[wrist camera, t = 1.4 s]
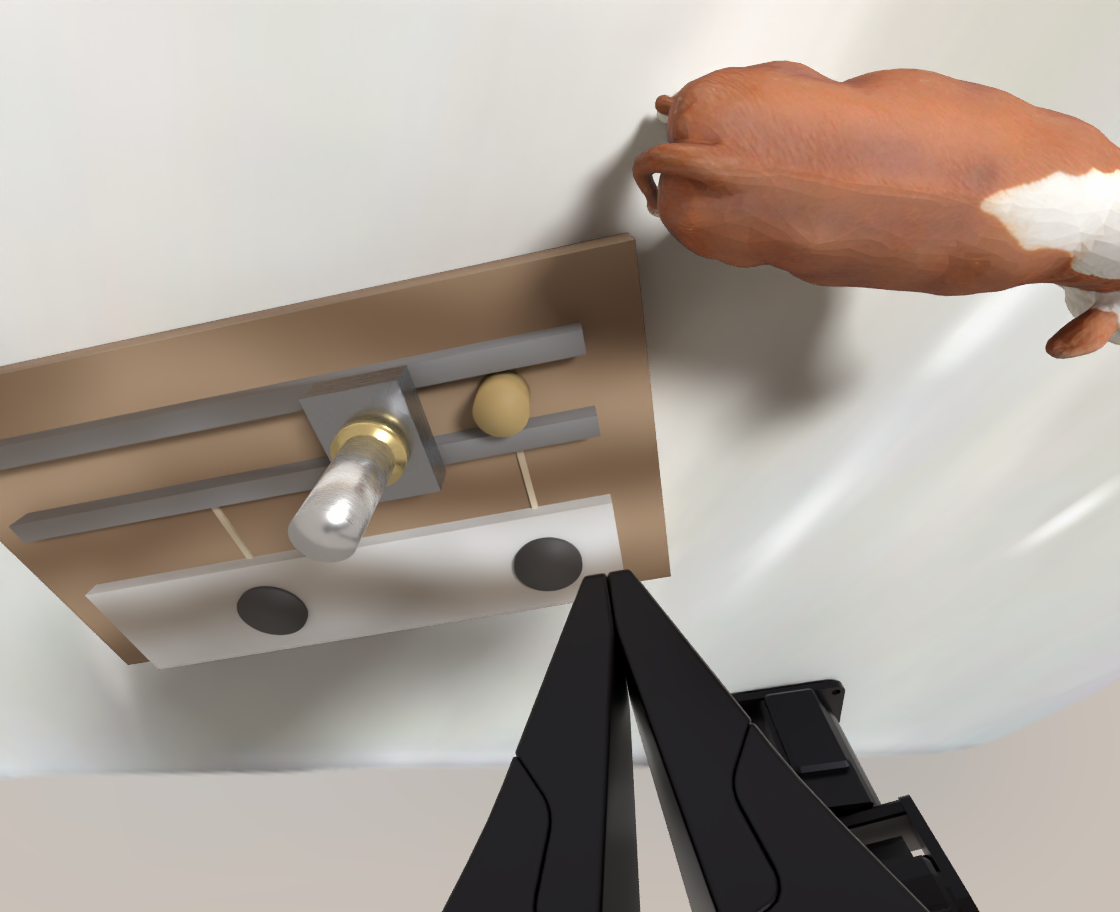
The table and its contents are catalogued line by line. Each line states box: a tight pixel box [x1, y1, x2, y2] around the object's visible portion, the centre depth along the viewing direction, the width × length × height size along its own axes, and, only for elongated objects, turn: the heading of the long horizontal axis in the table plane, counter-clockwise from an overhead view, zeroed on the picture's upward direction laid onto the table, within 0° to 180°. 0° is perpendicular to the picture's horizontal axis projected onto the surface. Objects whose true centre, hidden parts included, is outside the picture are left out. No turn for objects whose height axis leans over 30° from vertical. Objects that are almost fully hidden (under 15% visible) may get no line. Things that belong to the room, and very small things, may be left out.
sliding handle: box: [288, 365, 447, 563], centre depth 14 cm, size 4×3×5 cm
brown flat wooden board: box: [0, 233, 671, 670], centre depth 19 cm, size 14×26×3 cm, turn 101°
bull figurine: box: [633, 61, 1120, 359], centre depth 12 cm, size 4×13×8 cm, turn 77°
